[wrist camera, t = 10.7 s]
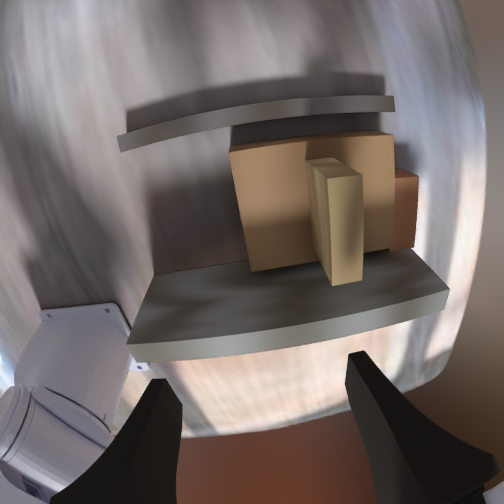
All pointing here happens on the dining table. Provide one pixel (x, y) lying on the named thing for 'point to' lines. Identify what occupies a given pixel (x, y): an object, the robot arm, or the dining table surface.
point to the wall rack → (281, 270)
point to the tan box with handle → (316, 200)
